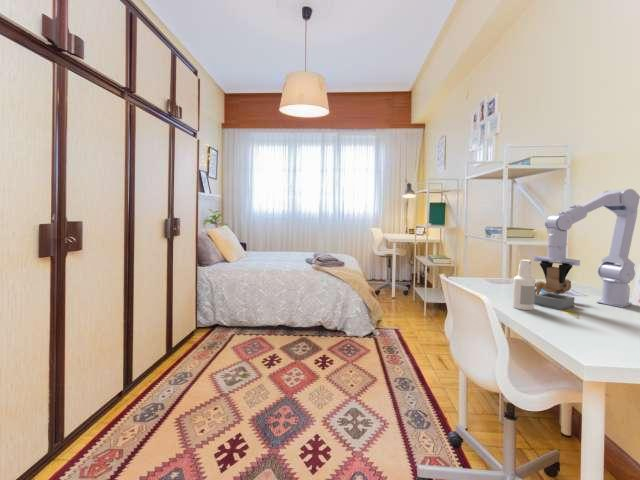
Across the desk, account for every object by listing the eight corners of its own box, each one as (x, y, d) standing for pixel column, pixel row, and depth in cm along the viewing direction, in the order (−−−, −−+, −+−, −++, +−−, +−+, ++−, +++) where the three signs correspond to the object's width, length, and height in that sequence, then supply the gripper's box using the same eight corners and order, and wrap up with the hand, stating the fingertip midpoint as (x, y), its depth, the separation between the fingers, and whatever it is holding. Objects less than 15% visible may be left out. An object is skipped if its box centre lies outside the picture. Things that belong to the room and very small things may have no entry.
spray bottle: (530, 311, 115) (533, 262, 113) (509, 307, 120) (511, 260, 119) (536, 308, 119) (538, 260, 118) (515, 304, 124) (518, 258, 123)
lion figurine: (571, 300, 130) (572, 278, 129) (569, 303, 126) (570, 280, 125) (528, 294, 140) (529, 274, 140) (526, 296, 136) (527, 275, 136)
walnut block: (551, 286, 125) (552, 266, 125) (562, 288, 122) (564, 268, 121) (545, 288, 123) (547, 267, 123) (557, 290, 120) (558, 269, 119)
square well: (546, 300, 130) (546, 292, 129) (573, 306, 121) (574, 297, 121) (533, 303, 125) (534, 295, 125) (561, 310, 117) (562, 300, 116)
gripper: (530, 245, 126) (529, 279, 127) (574, 248, 113) (572, 286, 114) (540, 244, 129) (538, 277, 130) (583, 247, 117) (581, 284, 118)
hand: (554, 281), depth 122 cm, fingers closed on walnut block, 4 cm apart
